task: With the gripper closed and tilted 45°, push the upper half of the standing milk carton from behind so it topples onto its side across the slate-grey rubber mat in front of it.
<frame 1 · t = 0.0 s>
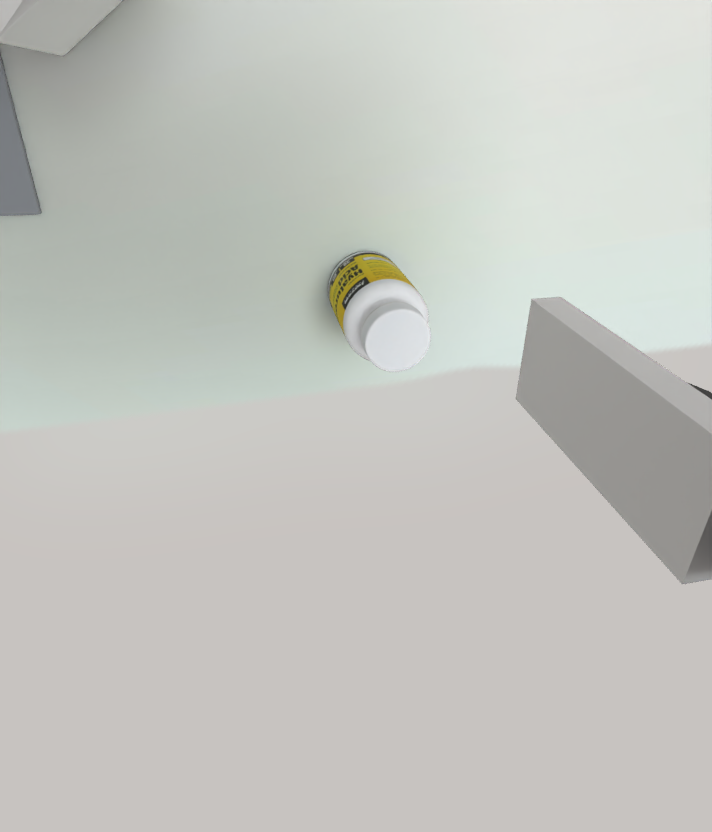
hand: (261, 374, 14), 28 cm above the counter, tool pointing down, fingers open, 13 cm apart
supplement bottle: (362, 286, 43), on the counter
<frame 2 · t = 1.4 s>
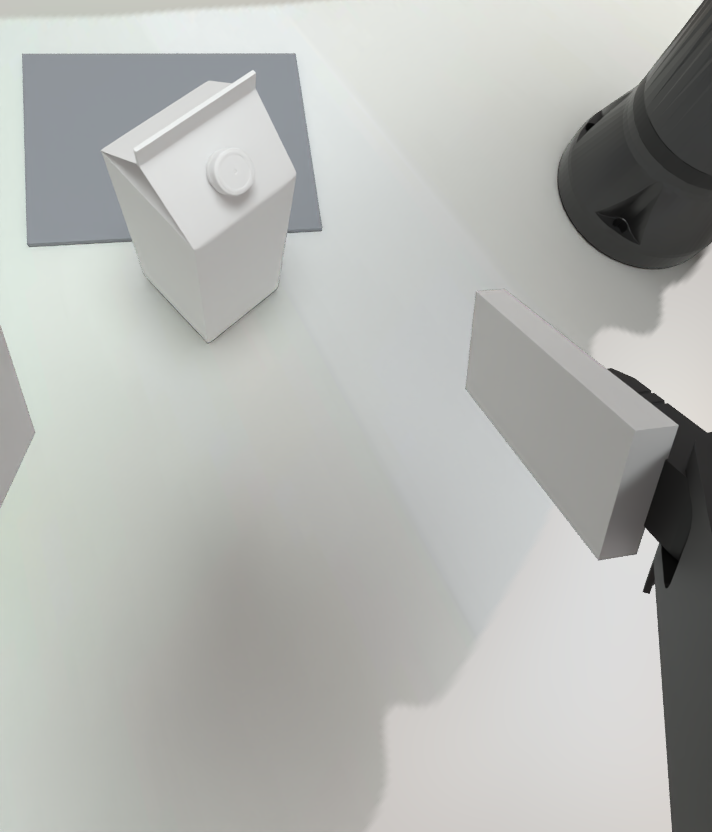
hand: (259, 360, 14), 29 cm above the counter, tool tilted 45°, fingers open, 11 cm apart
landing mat: (172, 144, 48), on the counter
milk carton: (212, 283, 46), on the counter, touching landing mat
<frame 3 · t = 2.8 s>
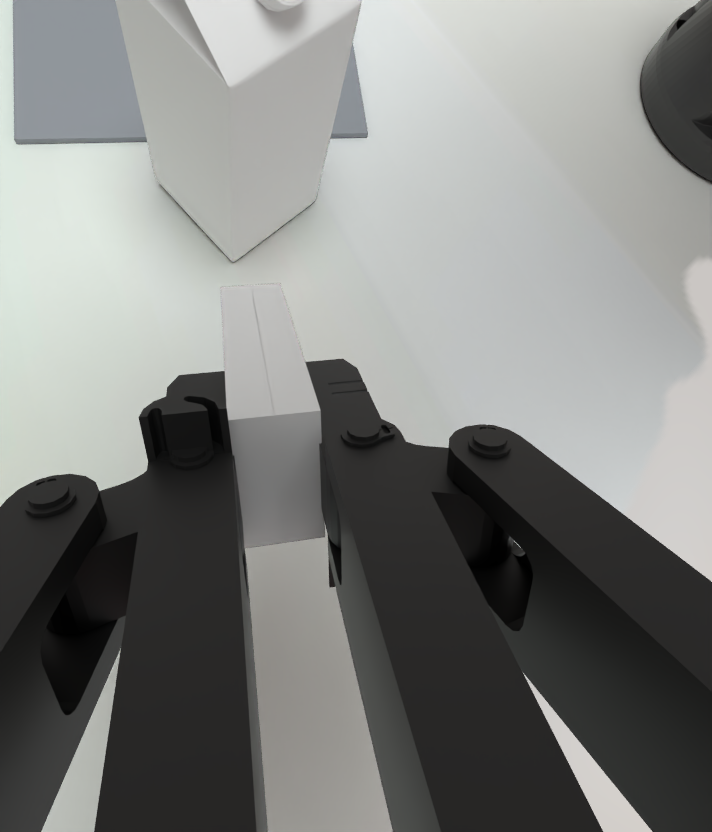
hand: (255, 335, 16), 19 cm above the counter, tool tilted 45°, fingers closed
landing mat: (190, 32, 41), on the counter
milk carton: (237, 193, 38), on the counter, touching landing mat
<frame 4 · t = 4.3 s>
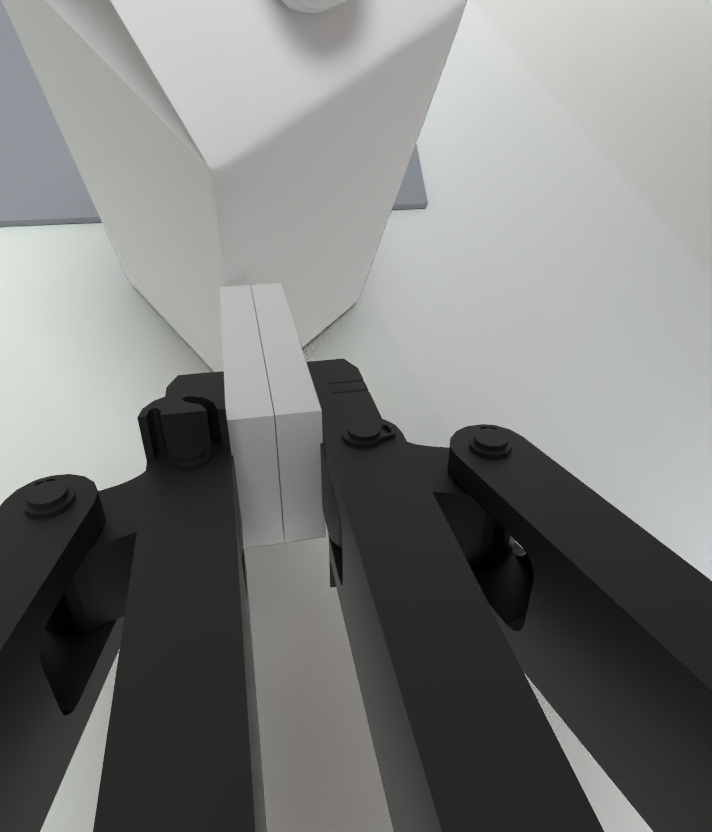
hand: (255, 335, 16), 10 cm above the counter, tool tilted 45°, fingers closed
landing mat: (179, 63, 29), on the counter
milk carton: (247, 293, 26), on the counter, touching gripper, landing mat
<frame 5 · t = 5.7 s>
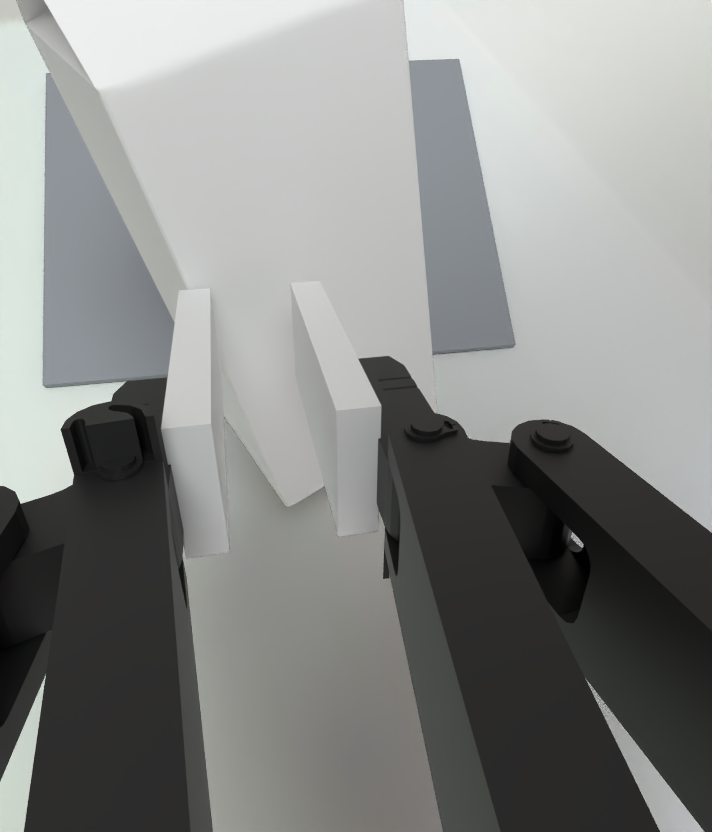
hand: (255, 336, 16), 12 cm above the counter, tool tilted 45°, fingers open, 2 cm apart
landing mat: (273, 209, 30), on the counter
milk carton: (322, 414, 26), point 2 cm above the counter, touching gripper, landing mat
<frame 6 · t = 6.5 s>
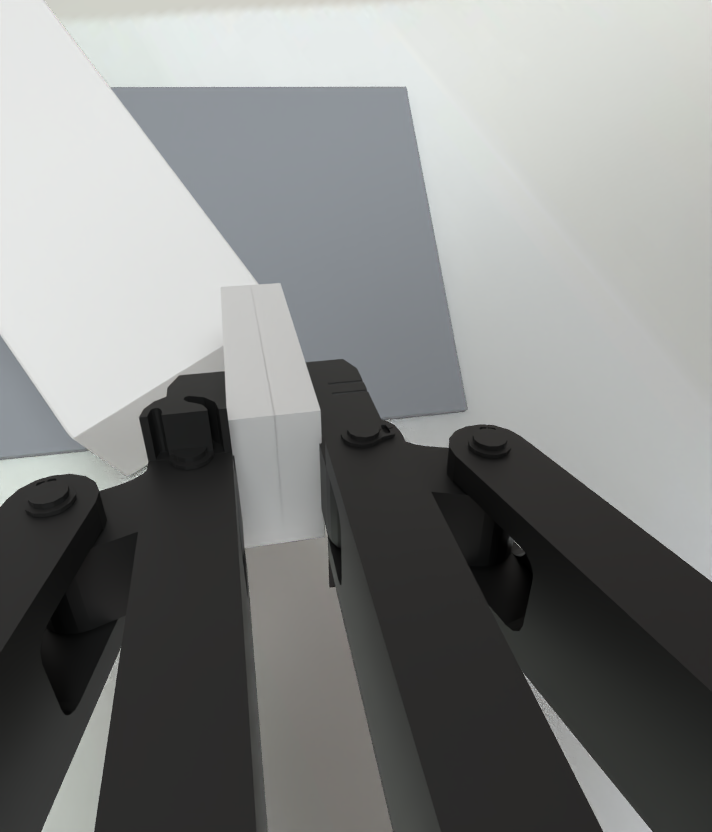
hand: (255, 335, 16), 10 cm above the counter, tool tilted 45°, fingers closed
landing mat: (197, 253, 27), on the counter
milk carton: (200, 412, 21), point 4 cm above the counter, touching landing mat
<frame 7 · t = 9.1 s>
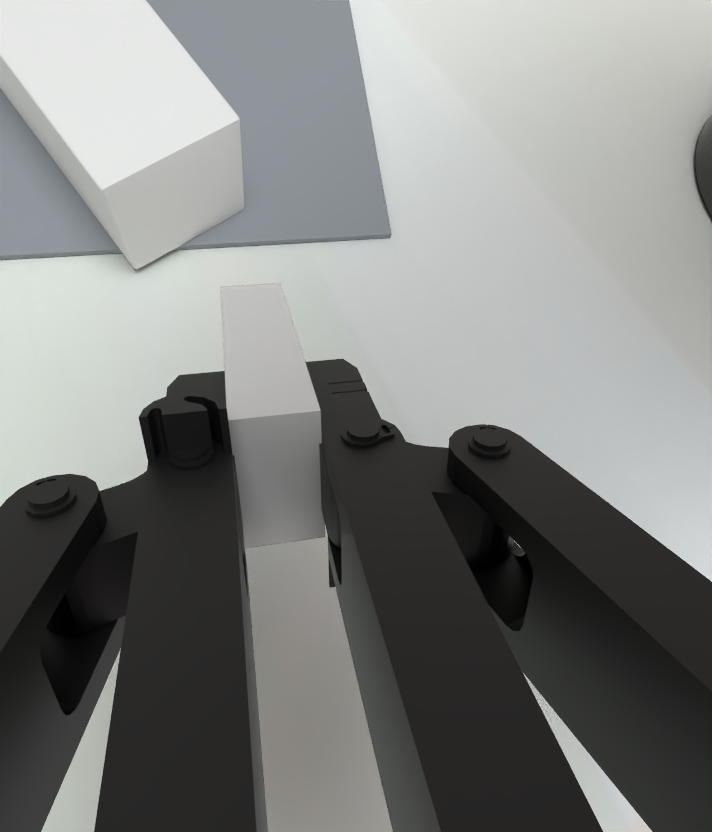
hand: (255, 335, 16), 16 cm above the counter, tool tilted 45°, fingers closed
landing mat: (186, 119, 35), on the counter
milk carton: (188, 206, 30), point 4 cm above the counter, touching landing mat
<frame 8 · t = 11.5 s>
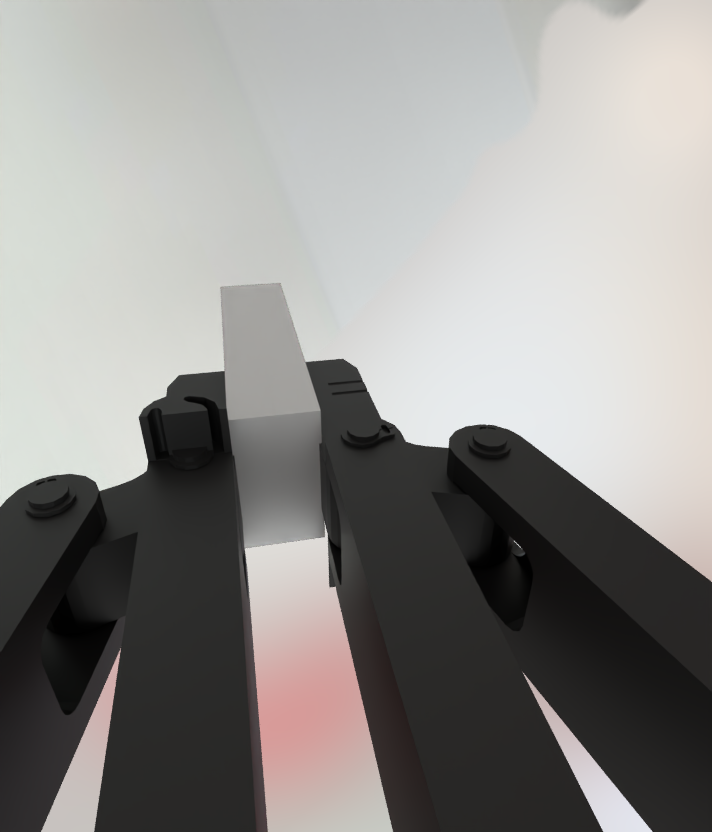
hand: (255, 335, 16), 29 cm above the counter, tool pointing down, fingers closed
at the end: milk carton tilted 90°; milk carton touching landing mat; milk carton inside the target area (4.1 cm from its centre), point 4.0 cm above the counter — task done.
